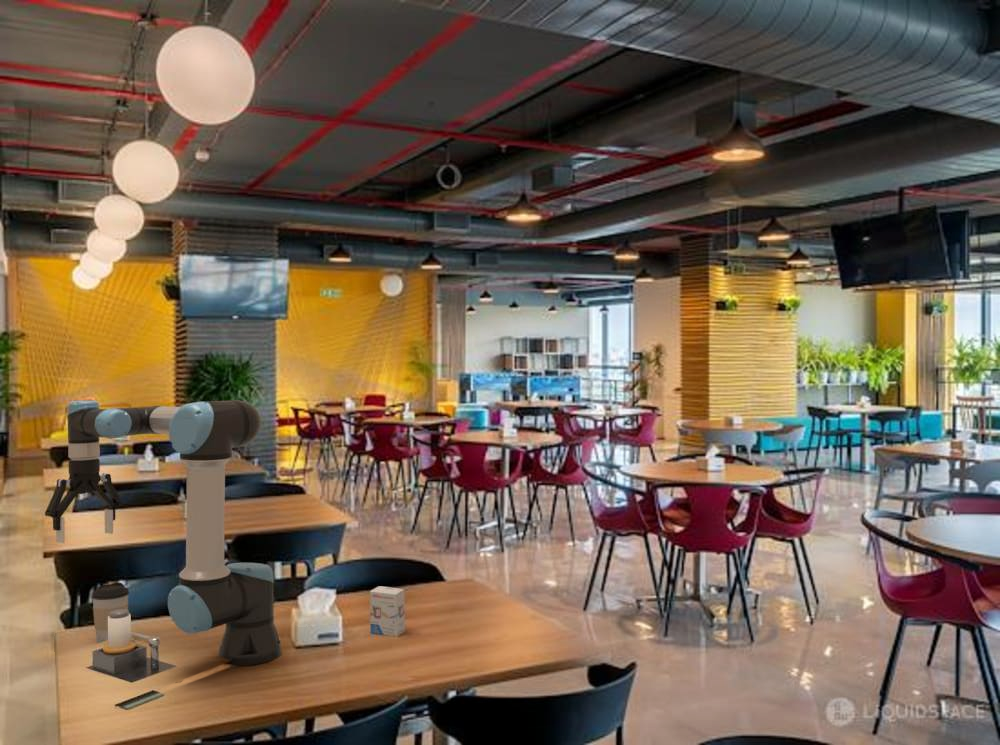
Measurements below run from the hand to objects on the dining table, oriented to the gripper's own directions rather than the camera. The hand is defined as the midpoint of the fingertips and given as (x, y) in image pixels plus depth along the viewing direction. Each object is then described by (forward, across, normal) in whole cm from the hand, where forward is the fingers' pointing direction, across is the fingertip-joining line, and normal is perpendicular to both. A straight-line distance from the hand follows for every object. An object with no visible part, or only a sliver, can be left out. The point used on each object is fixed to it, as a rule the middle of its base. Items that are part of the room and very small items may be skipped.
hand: (85, 537), depth 225 cm
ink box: (+28, -47, +65) cm, 85 cm away
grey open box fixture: (+28, +8, +32) cm, 43 cm away
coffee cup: (+28, -2, +7) cm, 29 cm away
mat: (+28, +17, +47) cm, 57 cm away
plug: (+26, +10, +30) cm, 40 cm away
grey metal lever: (+21, +6, +30) cm, 37 cm away
